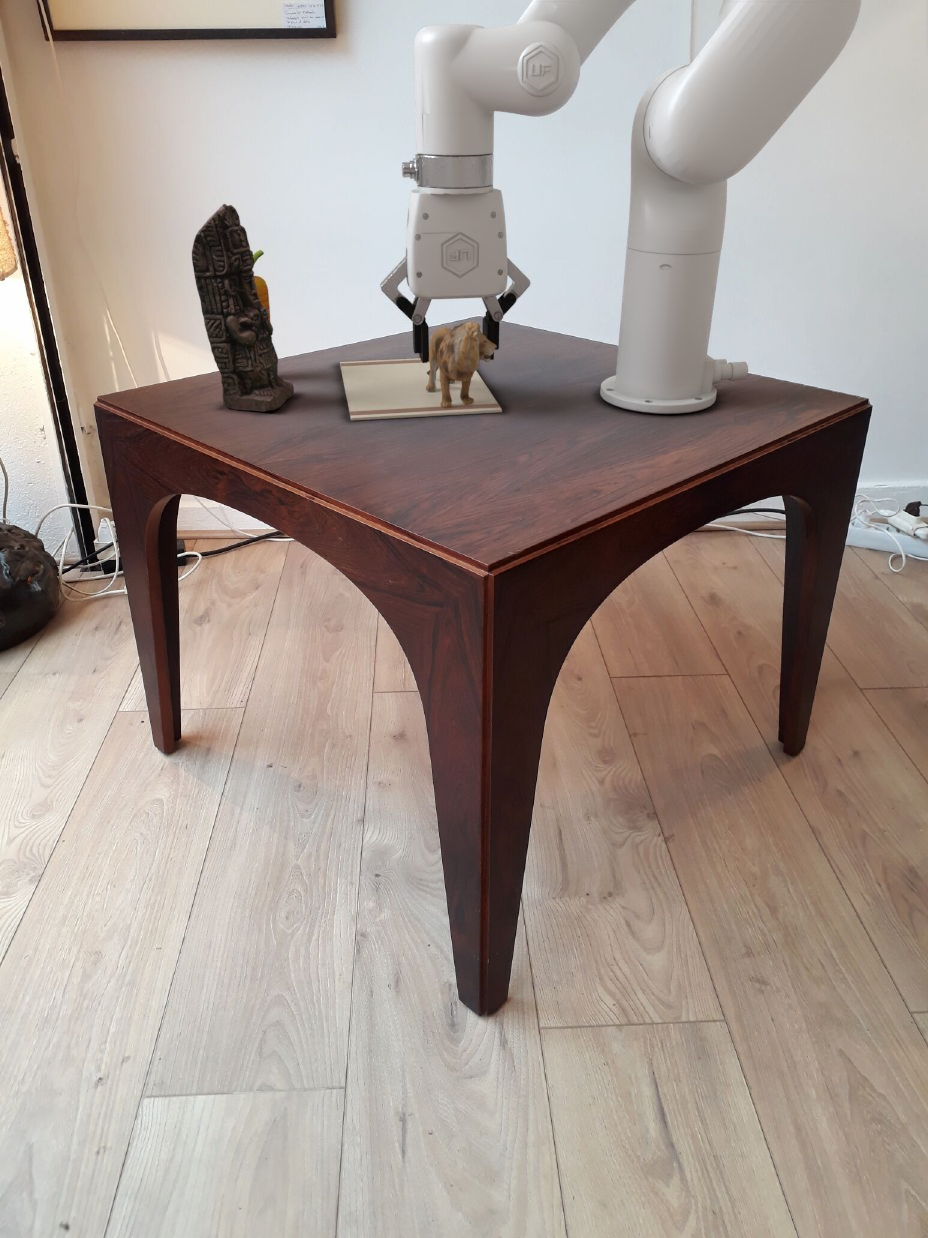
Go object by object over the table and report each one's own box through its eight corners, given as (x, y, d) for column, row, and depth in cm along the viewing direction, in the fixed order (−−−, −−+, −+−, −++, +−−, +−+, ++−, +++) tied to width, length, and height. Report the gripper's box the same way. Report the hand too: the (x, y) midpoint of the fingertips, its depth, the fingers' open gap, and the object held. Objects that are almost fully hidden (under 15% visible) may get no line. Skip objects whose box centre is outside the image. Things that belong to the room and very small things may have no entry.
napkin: (466, 358, 115) (466, 355, 115) (501, 412, 97) (502, 409, 96) (340, 364, 113) (339, 361, 113) (351, 420, 94) (350, 417, 94)
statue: (273, 414, 96) (250, 207, 86) (211, 410, 97) (180, 206, 87) (296, 395, 102) (277, 199, 92) (237, 391, 103) (211, 198, 93)
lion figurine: (500, 411, 96) (501, 324, 91) (453, 418, 94) (452, 328, 89) (447, 376, 107) (446, 296, 103) (405, 381, 105) (402, 300, 101)
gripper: (370, 179, 85) (379, 371, 94) (550, 176, 87) (542, 363, 96) (364, 172, 91) (373, 353, 100) (532, 169, 94) (526, 346, 103)
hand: (456, 356), depth 98 cm, fingers open, 6 cm apart
